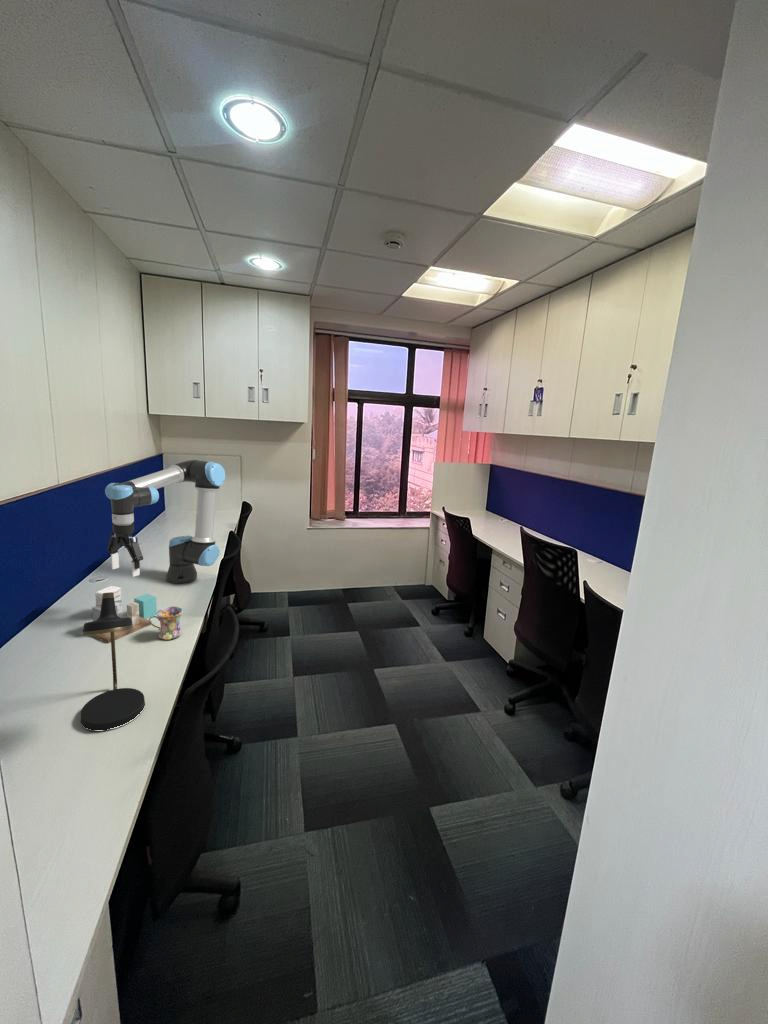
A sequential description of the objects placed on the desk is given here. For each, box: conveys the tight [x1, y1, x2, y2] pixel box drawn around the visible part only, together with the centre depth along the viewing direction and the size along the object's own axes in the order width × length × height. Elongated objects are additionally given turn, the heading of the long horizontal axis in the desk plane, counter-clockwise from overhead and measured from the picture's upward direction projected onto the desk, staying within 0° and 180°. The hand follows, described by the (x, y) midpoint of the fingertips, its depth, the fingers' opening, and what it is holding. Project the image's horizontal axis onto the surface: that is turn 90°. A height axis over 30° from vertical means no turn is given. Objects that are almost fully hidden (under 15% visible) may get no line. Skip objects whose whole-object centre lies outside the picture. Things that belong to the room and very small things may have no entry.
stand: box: [90, 601, 152, 644], centre depth 166 cm, size 18×12×11 cm, turn 156°
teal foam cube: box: [133, 593, 158, 620], centre depth 179 cm, size 6×6×8 cm
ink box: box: [95, 585, 123, 615], centre depth 176 cm, size 9×5×12 cm, turn 168°
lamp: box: [79, 592, 146, 730], centre depth 120 cm, size 16×22×38 cm
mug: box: [148, 606, 184, 640], centre depth 164 cm, size 12×9×11 cm
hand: (125, 572), depth 172 cm, fingers open, 13 cm apart
